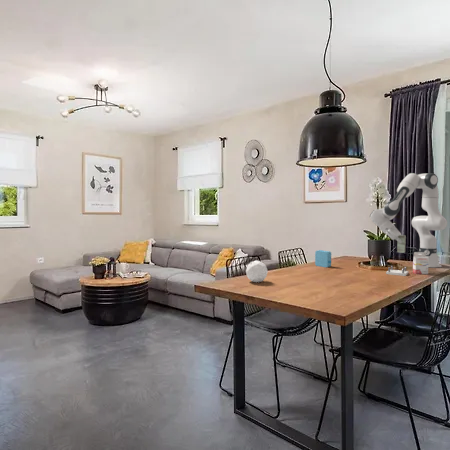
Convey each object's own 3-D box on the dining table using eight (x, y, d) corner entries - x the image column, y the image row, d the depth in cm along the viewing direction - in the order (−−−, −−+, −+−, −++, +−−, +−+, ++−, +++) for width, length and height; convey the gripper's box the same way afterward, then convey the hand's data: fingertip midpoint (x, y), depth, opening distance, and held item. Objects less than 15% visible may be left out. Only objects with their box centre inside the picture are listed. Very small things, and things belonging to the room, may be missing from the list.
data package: (331, 267, 282) (331, 251, 282) (327, 267, 280) (327, 252, 279) (318, 265, 292) (318, 250, 291) (314, 265, 289) (315, 250, 289)
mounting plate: (389, 271, 264) (389, 269, 263) (408, 273, 257) (408, 271, 256) (386, 274, 254) (386, 271, 254) (405, 275, 247) (405, 273, 247)
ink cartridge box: (415, 274, 254) (416, 252, 253) (412, 272, 259) (413, 251, 258) (428, 274, 253) (429, 252, 252) (425, 273, 258) (425, 252, 257)
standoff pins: (391, 269, 262) (391, 265, 262) (406, 271, 256) (406, 266, 256) (388, 271, 254) (388, 267, 254) (403, 273, 248) (404, 268, 248)
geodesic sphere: (250, 276, 217) (261, 256, 221) (236, 272, 229) (247, 254, 233) (265, 288, 224) (275, 269, 228) (251, 284, 235) (261, 266, 239)
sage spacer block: (398, 251, 267) (398, 235, 267) (405, 252, 265) (405, 235, 264) (397, 252, 264) (397, 235, 263) (404, 252, 261) (404, 235, 260)
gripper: (388, 225, 259) (403, 240, 254) (394, 224, 275) (408, 238, 270) (381, 232, 261) (396, 246, 256) (387, 230, 278) (401, 243, 273)
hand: (402, 242), depth 263 cm, fingers closed on sage spacer block, 4 cm apart
